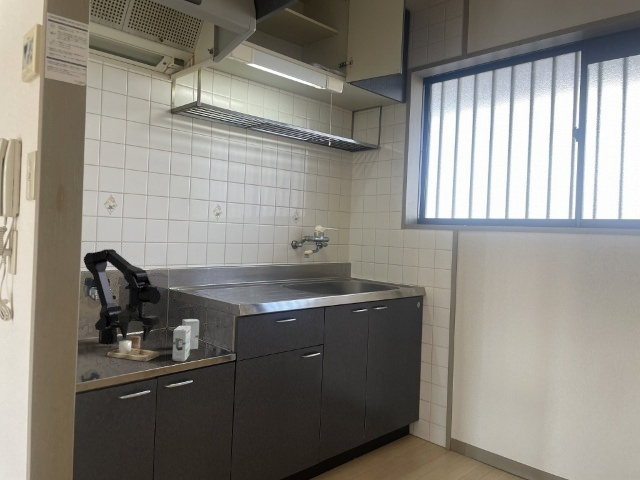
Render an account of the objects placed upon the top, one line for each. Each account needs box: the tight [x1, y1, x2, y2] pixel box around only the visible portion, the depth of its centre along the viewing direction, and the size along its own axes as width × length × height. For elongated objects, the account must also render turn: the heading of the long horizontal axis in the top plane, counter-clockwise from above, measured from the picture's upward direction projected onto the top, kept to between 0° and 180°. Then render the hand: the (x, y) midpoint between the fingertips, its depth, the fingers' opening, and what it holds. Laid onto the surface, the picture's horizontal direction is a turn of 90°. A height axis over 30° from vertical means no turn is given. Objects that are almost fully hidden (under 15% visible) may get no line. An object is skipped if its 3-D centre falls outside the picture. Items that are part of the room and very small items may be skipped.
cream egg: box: [118, 339, 132, 354], centre depth 186 cm, size 4×4×5 cm
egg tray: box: [107, 348, 160, 362], centre depth 185 cm, size 16×9×2 cm, turn 75°
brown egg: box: [128, 335, 141, 349], centre depth 197 cm, size 4×4×5 cm
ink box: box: [171, 325, 191, 362], centre depth 188 cm, size 9×5×12 cm, turn 3°
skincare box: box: [181, 318, 200, 350], centre depth 201 cm, size 6×4×12 cm
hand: (134, 340), depth 197 cm, fingers open, 9 cm apart
